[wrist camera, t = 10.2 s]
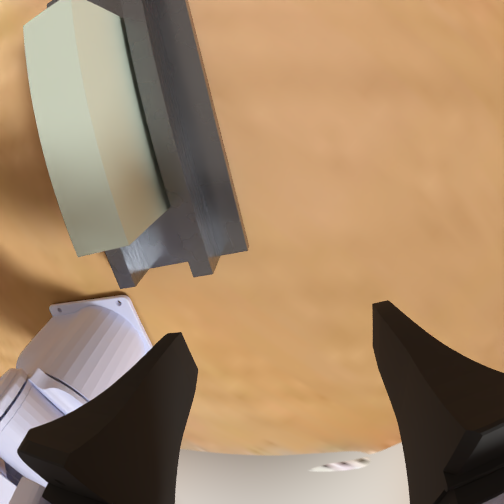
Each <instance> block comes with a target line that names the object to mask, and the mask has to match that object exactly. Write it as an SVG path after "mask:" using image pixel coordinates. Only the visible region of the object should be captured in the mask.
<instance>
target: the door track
mask: <svg viewBox="0 0 504 504" xmlns="http://www.w3.org/2000/svg"><path fill="white" fill-rule="evenodd" d="M57 1H59V0H52V1H51V2H49V3H48V4H47V8H48V7H50V6H51V5H53V4H54V3H56V2H57ZM87 1H89V2H91V3H93V4H95V5H98V6H100V7H102V8H104V9H106V10H108V11H110V12H112V13H114V14H116V15H118V16H119V17H121V18H123V19H124V22H125V27H126V32H127V37H128V42H129V47H130V52H131V57H132V61H133V66H134V70H135V75H136V79H137V83H138V88H139V92H140V96H141V100H142V104H143V109H144V113H145V117H146V120H147V124H148V128H149V132H150V136H151V140H152V143H153V147H154V151H155V154H156V158H157V162H158V165H159V169H160V172H161V176H162V179H163V183H164V186H165V190H166V193H167V196H168V200H169V203H170V206H171V207H170V208H169V209H168V210H167V211H166V212H165V213H163V214H162V215H161V216H160V217H159V218H158V219H157V220H156V221H155V222H154V223H153V224H151V225H150V226H149V227H148V228H147V229H146V230H145V231H144V232H143V233H142V234H141V235H140V236H139V237H138V238H137V239H135V240H134V241H133V242H132V243H131V244H130V245H129V246H125V247H120V248H116V249H111V250H107V251H105V253H106V256H107V258H108V261H109V263H110V266H111V268H112V270H113V273H114V275H115V278H116V280H117V282H118V285H119V287H120V289H123V288H129V287H136V285H137V284H138V283H139V281H140V280H141V279H142V277H143V276H144V275H145V273H146V272H147V271H148V270H149V268H155V267H160V266H166V265H171V264H177V263H182V262H189V265H190V268H191V271H192V274H193V277H198V276H204V275H210V274H213V273H214V270H215V268H216V265H217V263H218V260H219V258H220V256H221V255H227V254H232V253H238V252H243V251H248V247H249V244H248V240H247V236H246V232H245V228H244V224H243V220H242V216H241V212H240V208H239V204H238V200H237V196H236V192H235V188H234V184H233V180H232V176H231V172H230V168H229V164H228V160H227V156H226V152H225V148H224V144H223V140H222V136H221V132H220V128H219V124H218V120H217V116H216V112H215V108H214V104H213V100H212V96H211V92H210V88H209V84H208V80H207V76H206V72H205V68H204V64H203V60H202V56H201V52H200V48H199V44H198V40H197V36H196V32H195V28H194V24H193V20H192V16H191V12H190V8H189V4H188V0H87Z"/></svg>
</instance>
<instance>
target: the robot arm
mask: <svg viewBox="0 0 504 504" xmlns="http://www.w3.org/2000/svg"><path fill="white" fill-rule="evenodd" d="M118 301H120V302H121V303H119V302H118ZM372 306H373V349H374V353H375V357H376V361H377V365H378V369H379V372H380V374H381V377H382V380H383V382H384V385H385V388H386V390H387V393H388V396H389V398H390V401H391V404H392V407H393V410H394V412H395V415H396V419H397V422H398V426H399V430H400V435H401V440H402V445H403V451H404V456H405V463H406V470H407V477H408V485H409V495H410V504H504V373H502V372H499V371H496V370H494V369H491V368H488V367H486V366H484V365H482V364H479V363H477V362H475V361H473V360H471V359H469V358H467V357H465V356H463V355H461V354H459V353H458V352H456V351H454V350H452V349H451V348H449V347H447V346H446V345H444V344H443V343H441V342H440V341H438V340H437V339H435V338H434V337H433V336H431V335H430V334H429V333H427V332H426V331H425V330H423V329H422V328H421V327H420V326H418V325H417V324H416V323H414V322H413V321H412V320H411V319H410V318H408V317H407V316H406V315H405V314H404V313H403V312H401V311H400V310H399V309H398V308H397V307H396V306H394V305H393V304H392V303H391V302H390V301H383V302H379V303H374V304H372ZM49 310H50V312H51V314H52V316H53V317H52V318H51V319H50V320H49V321H48V322H47V323H46V324H45V326H44V327H43V328H42V329H41V330H40V331H39V332H38V333H37V335H36V336H35V337H34V338H33V339H32V340H31V341H30V343H29V344H28V345H27V346H26V347H25V348H24V350H23V351H22V352H21V354H20V355H19V357H18V360H17V364H16V369H13V368H11V369H9V370H8V371H7V372H5V373H4V374H3V375H2V376H1V377H0V504H175V487H176V476H177V466H178V459H179V452H180V446H181V441H182V437H183V433H184V430H185V426H186V423H187V419H188V416H189V412H190V409H191V405H192V402H193V398H194V394H195V390H196V383H197V374H198V368H197V366H196V364H195V362H194V360H193V357H192V355H191V353H190V351H189V349H188V346H187V344H186V342H185V340H184V337H183V335H182V333H181V332H179V333H168V334H166V335H165V336H164V337H163V338H162V339H161V340H160V341H158V342H157V343H156V344H155V345H154V346H152V344H151V342H150V340H149V338H148V336H147V334H146V332H145V330H144V328H143V326H142V323H141V321H140V319H139V317H138V315H137V313H136V311H135V309H134V306H133V304H132V302H131V300H130V298H129V297H128V296H126V295H118V296H111V297H104V298H97V299H89V300H82V301H74V302H67V303H59V304H52V305H51V306H50V307H49Z"/></svg>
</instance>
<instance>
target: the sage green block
mask: <svg viewBox="0 0 504 504" xmlns="http://www.w3.org/2000/svg"><path fill="white" fill-rule="evenodd" d="M23 31H24V45H25V55H26V64H27V72H28V79H29V86H30V92H31V98H32V104H33V109H34V114H35V119H36V124H37V129H38V133H39V138H40V142H41V146H42V150H43V154H44V158H45V161H46V165H47V169H48V172H49V176H50V179H51V182H52V186H53V189H54V192H55V195H56V199H57V202H58V205H59V208H60V211H61V213H62V216H63V219H64V222H65V225H66V228H67V230H68V233H69V236H70V238H71V241H72V243H73V246H74V249H75V251H76V254H77V256H78V257H81V256H85V255H90V254H94V253H98V252H103V251H107V250H111V249H116V248H120V247H125V246H129V245H130V244H131V243H132V242H133V241H134V240H135V239H137V238H138V237H139V236H140V235H141V234H142V233H143V232H144V231H145V230H146V229H147V228H148V227H149V226H150V225H151V224H153V223H154V222H155V221H156V220H157V219H158V218H159V217H160V216H161V215H162V214H163V213H165V212H166V211H167V210H168V209H169V208H170V207H171V206H170V203H169V200H168V196H167V193H166V190H165V186H164V183H163V179H162V176H161V172H160V169H159V165H158V162H157V158H156V154H155V151H154V147H153V143H152V140H151V136H150V132H149V128H148V124H147V120H146V117H145V113H144V109H143V104H142V100H141V96H140V92H139V88H138V83H137V79H136V75H135V70H134V66H133V61H132V57H131V52H130V47H129V42H128V37H127V32H126V27H125V22H124V19H123V18H121V17H119V16H118V15H116V14H114V13H112V12H110V11H108V10H106V9H104V8H102V7H100V6H98V5H95V4H93V3H91V2H89V1H87V0H59V1H57V2H56V3H54V4H53V5H51V6H50V7H48V8H47V9H46V10H44V11H43V12H41V13H40V14H39V15H37V16H36V17H34V18H33V19H32V20H30V21H29V22H28V23H27V24H25V25H24V26H23Z"/></svg>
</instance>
